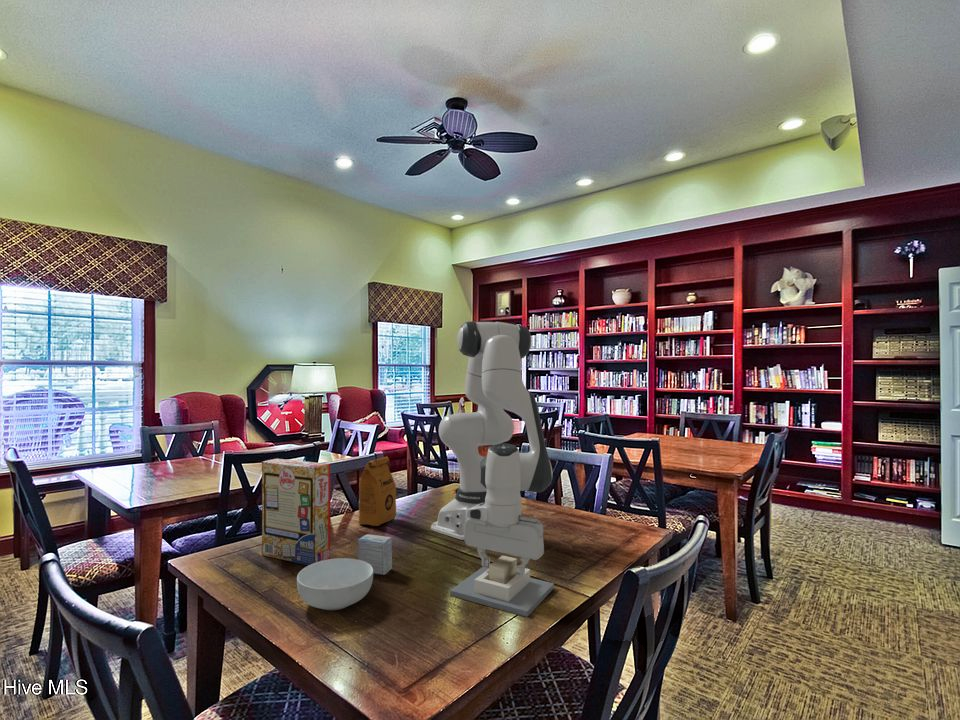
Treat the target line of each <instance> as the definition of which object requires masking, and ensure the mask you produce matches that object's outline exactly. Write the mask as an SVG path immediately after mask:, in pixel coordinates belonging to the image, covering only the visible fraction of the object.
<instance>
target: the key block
mask: <svg viewBox="0 0 960 720" xmlns="http://www.w3.org/2000/svg"><path fill="white" fill-rule="evenodd" d="M517 566H518V558H515V557H510V556H507V555H501V556H499V557H498V558H497V559H495V560H494V561H493V562H490V565H489V566H488V568H489V580H490V581H494V582H498V583H502V584H507V583H508V582H509V581H510V580H511V579H512V578H514V577H515V576H516V575H517V574H516V572H517V570H516V567H517Z"/></svg>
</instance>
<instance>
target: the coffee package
mask: <svg viewBox="0 0 960 720" xmlns="http://www.w3.org/2000/svg"><path fill="white" fill-rule="evenodd" d="M389 458H390V457H388V456H384V457H380V458H377V459H373V460H370V461H367V464H366V465H365V468H364V469H363V470H364V471H363V472H362V474H361V476H360V480H359V486H358V487H359V488H358V490H359V491H358V513H359V514H358V524H359V525H360V526H372V527H379V526H380V525H383V524H386V523H388V522H390V521H392V520H394V519H395V518H396V517H397V487H396V482H395V479H394V477H393V474H392V472H391V471H390V468H389V464H388V462H390V459H389Z"/></svg>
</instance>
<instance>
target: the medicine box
mask: <svg viewBox="0 0 960 720" xmlns="http://www.w3.org/2000/svg"><path fill="white" fill-rule="evenodd" d="M392 540H393V539H392V537H390V536H386V535H385V536H384V535H379V534H378V535H377V534H369V533H368V534H365V535H363V536H360V538H358V540H357V542H358V545H357V546H358V547H357V548H358V549H357V553H358V554H357V557H358V558H357V560H362V561H364V562H367V563H368V564H370V565H371V566H372V568H373V575H374V574H375V575H382V576H384V575H386V574H388V573H389V572H390V571H391V570H393V554H392V553H393V552H392V551H393V550H392V549H393V545H392V542H393V541H392Z"/></svg>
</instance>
